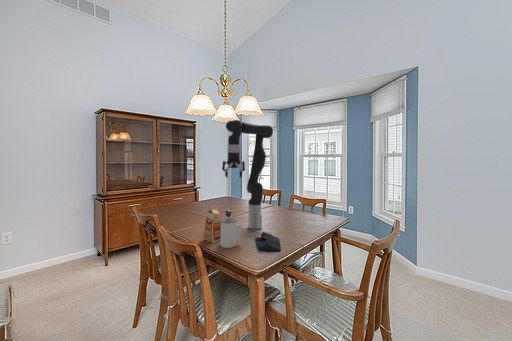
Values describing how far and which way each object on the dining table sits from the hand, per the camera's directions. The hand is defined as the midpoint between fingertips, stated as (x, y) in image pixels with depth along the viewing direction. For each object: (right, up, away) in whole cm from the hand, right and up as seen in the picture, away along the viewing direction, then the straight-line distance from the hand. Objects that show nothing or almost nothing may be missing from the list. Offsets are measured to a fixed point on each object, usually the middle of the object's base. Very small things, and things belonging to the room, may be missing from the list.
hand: (233, 177), depth 153 cm
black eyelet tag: (+21, -40, -12) cm, 47 cm away
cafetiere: (0, -39, -13) cm, 41 cm away
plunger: (-2, -35, -14) cm, 37 cm away
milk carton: (-12, -38, -4) cm, 41 cm away
